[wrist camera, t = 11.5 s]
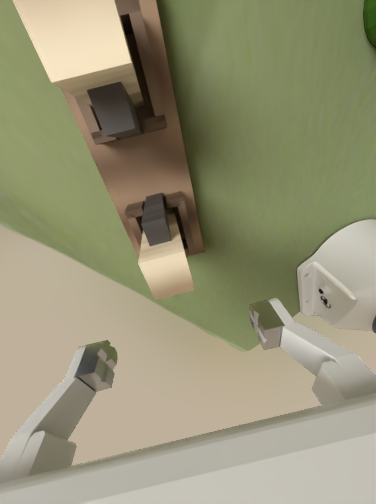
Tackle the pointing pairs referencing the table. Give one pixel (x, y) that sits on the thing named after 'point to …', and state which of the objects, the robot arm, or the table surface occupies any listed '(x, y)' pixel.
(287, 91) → the table surface
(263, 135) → the table surface
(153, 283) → the beige block
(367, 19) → the wine bottle
